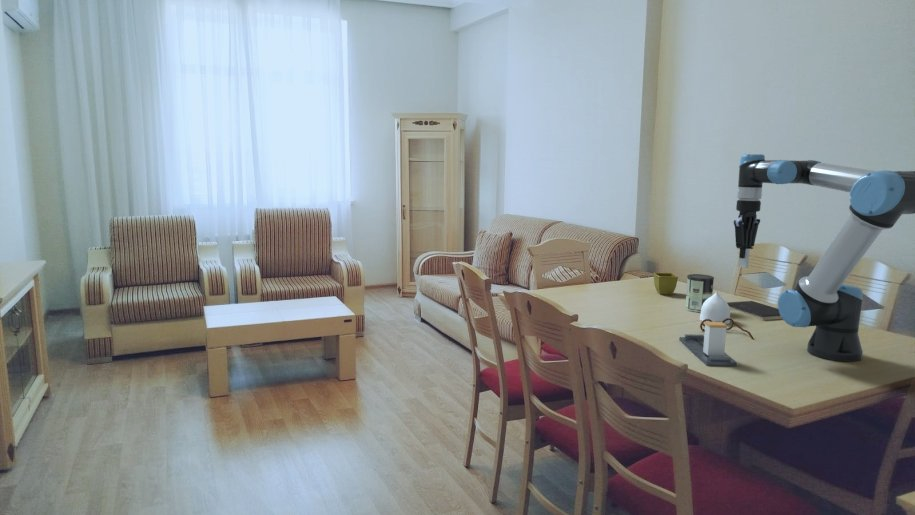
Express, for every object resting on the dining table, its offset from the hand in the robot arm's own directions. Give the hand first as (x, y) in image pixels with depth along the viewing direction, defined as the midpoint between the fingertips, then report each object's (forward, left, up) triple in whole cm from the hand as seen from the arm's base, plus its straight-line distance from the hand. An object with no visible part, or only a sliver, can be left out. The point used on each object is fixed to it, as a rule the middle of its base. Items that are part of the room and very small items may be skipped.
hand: (743, 267), depth 216 cm
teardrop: (+16, -11, -25) cm, 31 cm away
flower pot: (+57, -35, -25) cm, 71 cm away
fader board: (-6, +28, -24) cm, 38 cm away
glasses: (+2, +4, -25) cm, 25 cm away
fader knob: (-11, +32, -23) cm, 40 cm away
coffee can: (+30, -21, -25) cm, 44 cm away
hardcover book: (+14, -38, -25) cm, 48 cm away
